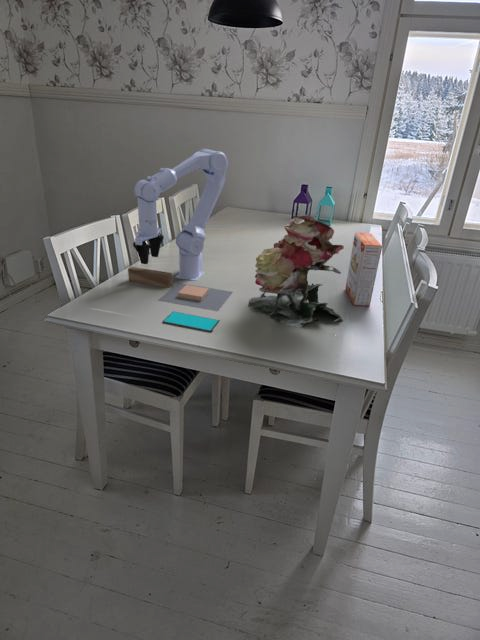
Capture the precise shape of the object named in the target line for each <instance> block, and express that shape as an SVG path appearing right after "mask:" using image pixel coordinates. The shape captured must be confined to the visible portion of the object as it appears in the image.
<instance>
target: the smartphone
mask: <svg viewBox="0 0 480 640" xmlns="http://www.w3.org/2000/svg"><path fill="white" fill-rule="evenodd" d="M220 321H221V320H220V319H215V318H210V317H204V316H199V315H194V314H190V313H184V312H179V311H172V312H170V314H169V315H168V316H166V317H165V318H164V319H162V323H163V324H166V325H172V326H176V327H181V328H186V329H191V330H196V331H199V332H200V331H201V332H206V333H213V332H214V329H215V327H216V326H218V324H219V323H220Z"/></svg>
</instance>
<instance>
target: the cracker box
mask: <svg viewBox="0 0 480 640" xmlns="http://www.w3.org/2000/svg"><path fill="white" fill-rule="evenodd" d="M351 249H352V250H351V255H350V259H349V265H348V270H347V277H346V283H345V287H344V288H345V291H346V292H347V295H348V297H349V299H350V301H351V303H352V305H353V306H364V307H370V306H371V302H372V296H373V292H374V288H375V287H374V286H375V282H376V279H377V278H376V277H377V272H378V268H379V264H380V258H381V254H382V249H383V246H382V244H381V243H380V242H379V241H378V239H376V238H375V236H374V235H373V234H372V233H369V232H368V233H365V232H355V233H354V237H353V241H352V248H351Z"/></svg>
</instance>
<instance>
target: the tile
mask: <svg viewBox="0 0 480 640" xmlns="http://www.w3.org/2000/svg"><path fill="white" fill-rule="evenodd" d="M190 285H191V284H189V285H186V286H185V287H184V288H183V289H182V290H180V291H179V292H178V297H180V298H185V299H191V300H197V301H202V300H203V299H204V298H205V297H206V296H207V294H208V293H209V289H208V288H209V287H207V288H202V287H203V286H201V287H196V286H197V285H195V286H190Z"/></svg>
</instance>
